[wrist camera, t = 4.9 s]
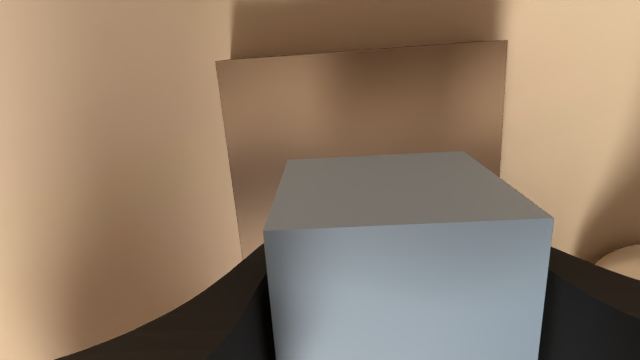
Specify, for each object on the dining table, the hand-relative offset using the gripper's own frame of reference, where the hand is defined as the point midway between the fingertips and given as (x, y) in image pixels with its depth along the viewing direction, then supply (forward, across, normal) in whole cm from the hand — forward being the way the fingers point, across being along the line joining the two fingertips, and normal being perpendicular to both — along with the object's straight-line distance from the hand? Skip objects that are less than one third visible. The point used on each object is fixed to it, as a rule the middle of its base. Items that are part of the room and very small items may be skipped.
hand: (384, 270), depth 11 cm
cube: (+2, 0, 0) cm, 2 cm away
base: (+9, 0, 0) cm, 9 cm away
